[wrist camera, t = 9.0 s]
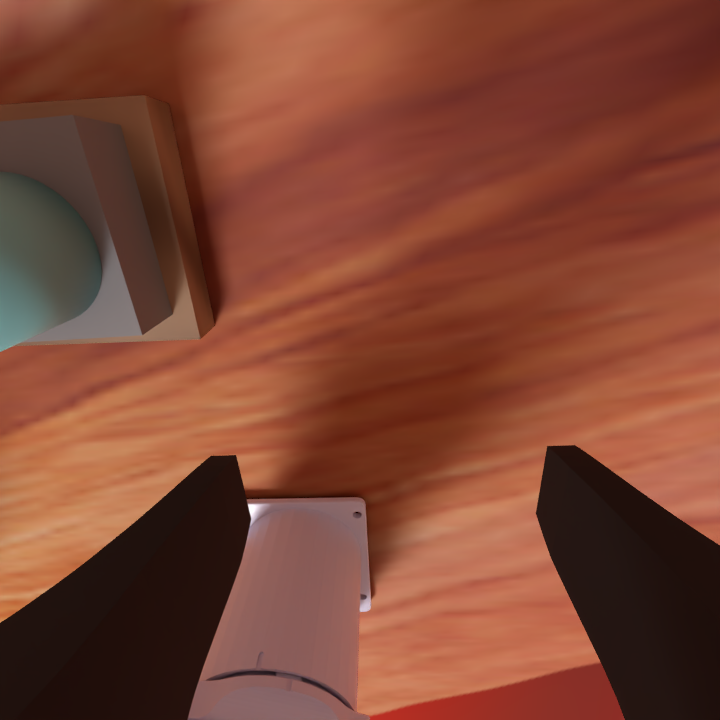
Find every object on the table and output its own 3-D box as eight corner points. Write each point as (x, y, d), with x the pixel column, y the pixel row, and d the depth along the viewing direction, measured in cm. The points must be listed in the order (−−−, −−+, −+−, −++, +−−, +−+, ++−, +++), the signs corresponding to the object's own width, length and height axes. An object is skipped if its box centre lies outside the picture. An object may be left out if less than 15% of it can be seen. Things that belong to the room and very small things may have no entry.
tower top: (172, 314, 17) (142, 335, 15) (16, 324, 17) (-38, 346, 15) (120, 124, 14) (72, 114, 12) (-66, 141, 15) (-147, 135, 12)
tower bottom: (220, 320, 20) (200, 339, 17) (44, 327, 20) (2, 346, 18) (176, 106, 16) (144, 95, 14) (-38, 120, 16) (-104, 111, 14)
